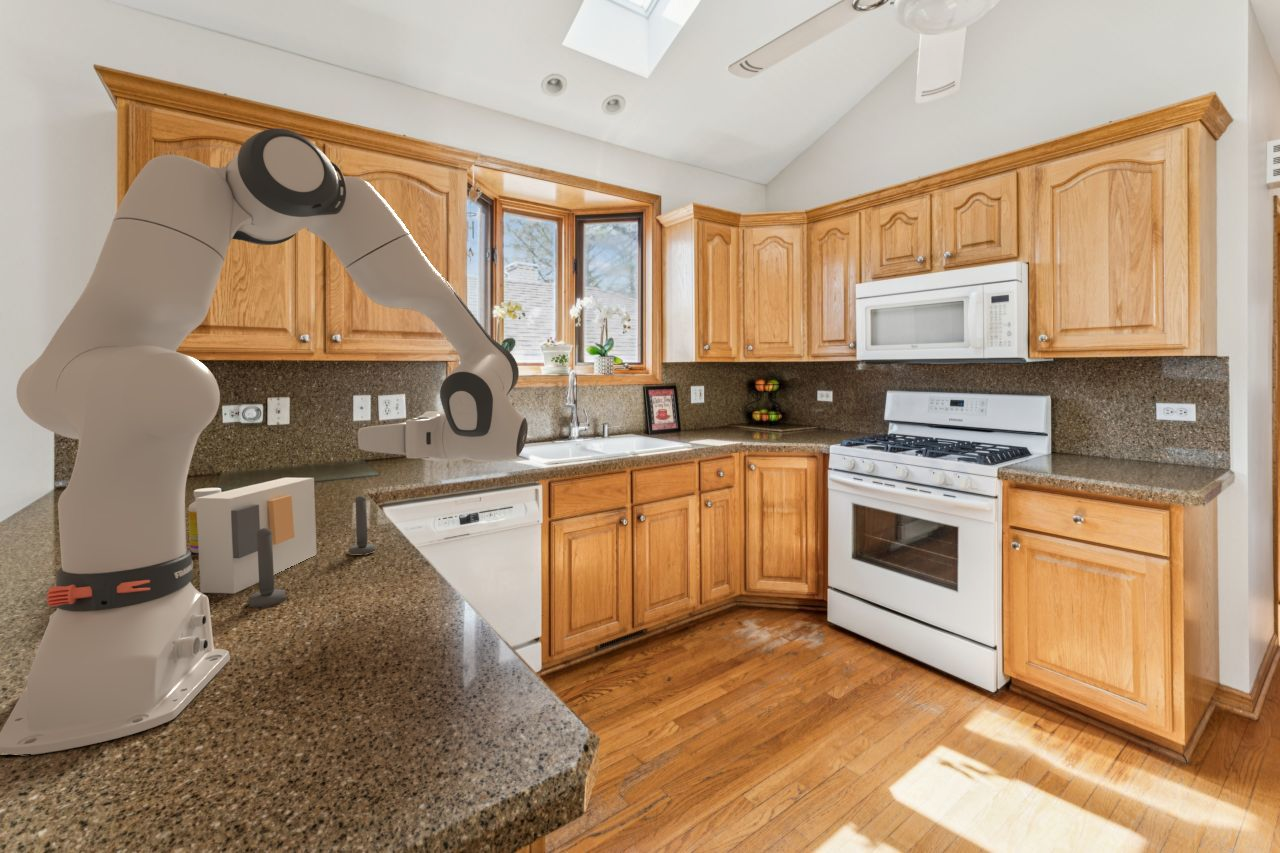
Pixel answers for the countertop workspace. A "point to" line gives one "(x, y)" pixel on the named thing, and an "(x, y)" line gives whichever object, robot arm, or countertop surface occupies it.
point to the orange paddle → (281, 519)
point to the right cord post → (361, 529)
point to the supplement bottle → (193, 516)
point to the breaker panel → (217, 528)
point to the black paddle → (245, 530)
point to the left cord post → (266, 574)
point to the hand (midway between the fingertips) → (362, 434)
